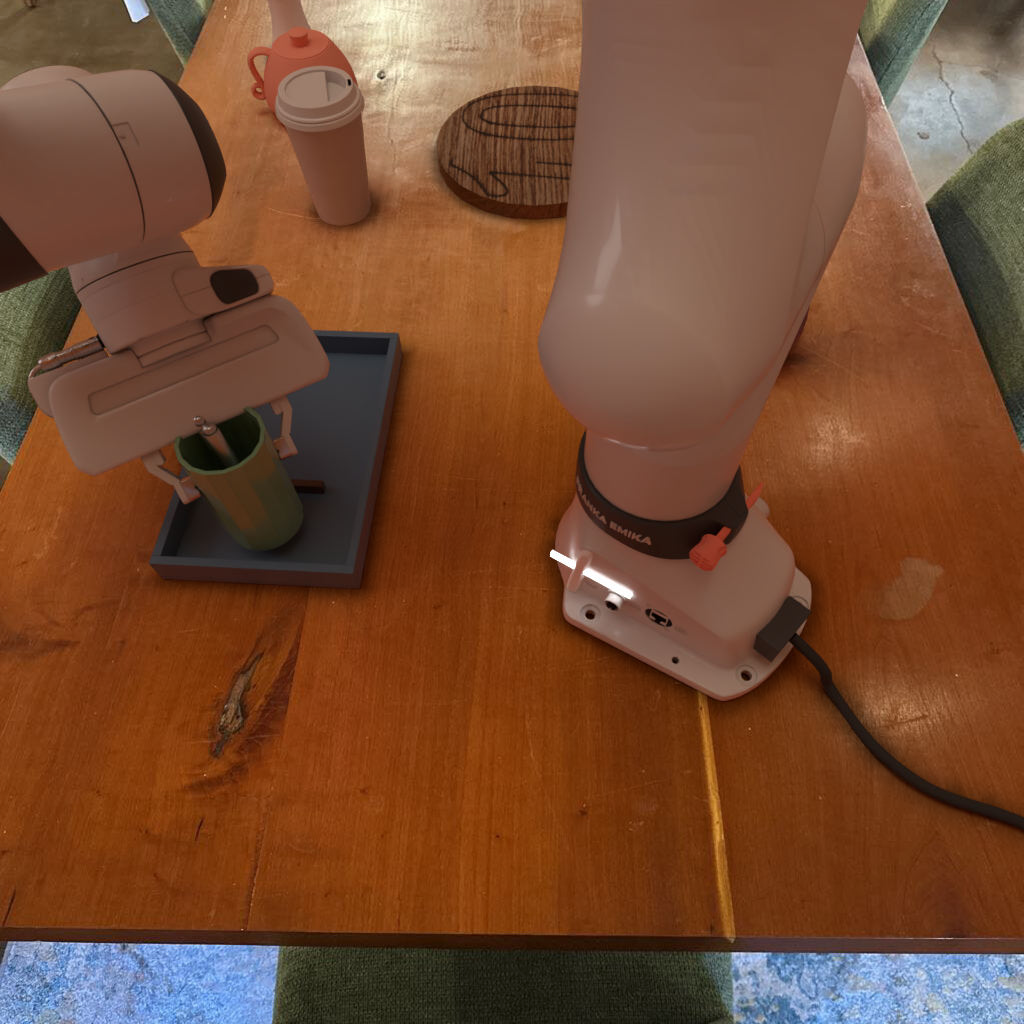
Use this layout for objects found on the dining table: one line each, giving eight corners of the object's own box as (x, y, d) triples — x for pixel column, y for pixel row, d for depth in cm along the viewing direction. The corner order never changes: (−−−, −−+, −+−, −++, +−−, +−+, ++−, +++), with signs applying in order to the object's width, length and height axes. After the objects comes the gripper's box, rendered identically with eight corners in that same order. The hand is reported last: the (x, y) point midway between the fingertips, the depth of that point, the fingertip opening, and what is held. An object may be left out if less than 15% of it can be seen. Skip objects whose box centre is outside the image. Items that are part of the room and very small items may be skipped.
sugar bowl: (360, 133, 101) (344, 54, 92) (254, 140, 101) (228, 61, 92) (362, 82, 107) (348, 3, 99) (262, 87, 107) (239, 9, 98)
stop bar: (324, 494, 71) (321, 487, 70) (240, 490, 71) (236, 483, 70) (326, 487, 71) (323, 480, 70) (242, 483, 72) (238, 476, 71)
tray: (359, 589, 67) (353, 573, 64) (162, 579, 67) (148, 563, 65) (402, 353, 81) (398, 332, 78) (239, 347, 82) (230, 326, 79)
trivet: (638, 219, 91) (640, 205, 90) (430, 219, 92) (428, 205, 90) (626, 98, 104) (628, 85, 103) (444, 99, 105) (442, 85, 103)
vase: (261, 54, 111) (239, -22, 103) (304, 35, 114) (286, -41, 105) (290, 75, 108) (270, -2, 100) (333, 55, 111) (317, -22, 103)
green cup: (319, 514, 68) (282, 433, 58) (260, 565, 65) (211, 490, 55) (270, 473, 70) (227, 388, 60) (212, 521, 68) (156, 441, 57)
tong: (264, 506, 68) (207, 414, 58) (254, 515, 67) (194, 424, 57) (256, 499, 68) (198, 407, 58) (246, 508, 68) (185, 416, 58)
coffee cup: (370, 239, 90) (344, 117, 77) (293, 229, 91) (255, 107, 78) (392, 188, 95) (372, 65, 82) (320, 179, 96) (288, 57, 83)
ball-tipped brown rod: (282, 521, 67) (217, 423, 57) (271, 530, 66) (204, 433, 57) (274, 515, 67) (208, 417, 58) (263, 524, 67) (195, 427, 58)
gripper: (3, 365, 52) (108, 543, 56) (285, 258, 57) (363, 428, 61) (25, 367, 58) (119, 528, 62) (279, 270, 63) (351, 424, 67)
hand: (243, 477), depth 61 cm, fingers closed on green cup, 7 cm apart
